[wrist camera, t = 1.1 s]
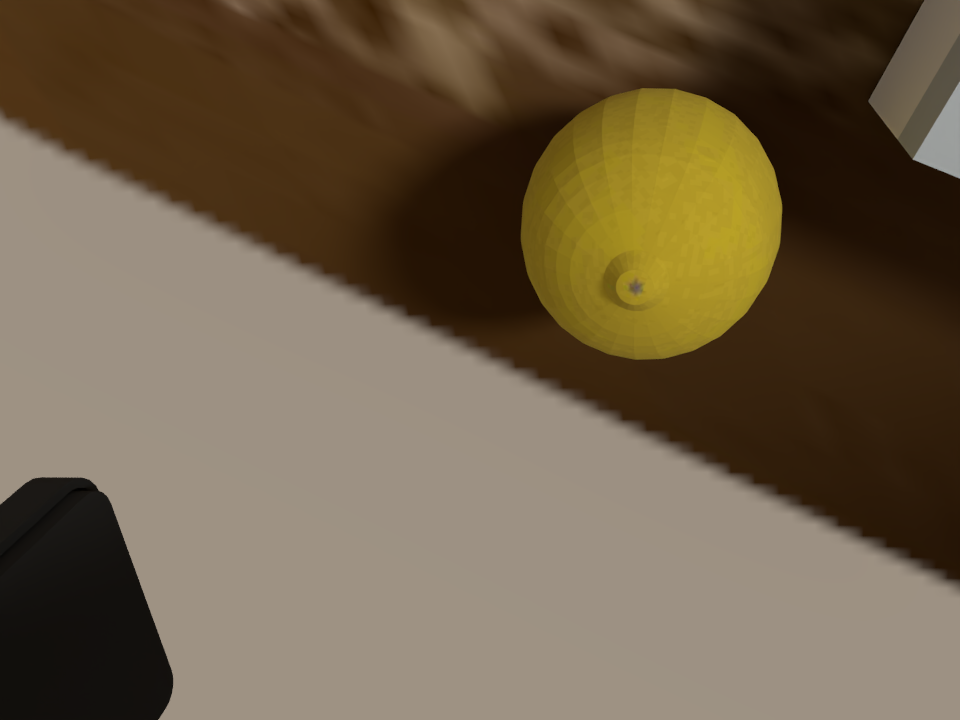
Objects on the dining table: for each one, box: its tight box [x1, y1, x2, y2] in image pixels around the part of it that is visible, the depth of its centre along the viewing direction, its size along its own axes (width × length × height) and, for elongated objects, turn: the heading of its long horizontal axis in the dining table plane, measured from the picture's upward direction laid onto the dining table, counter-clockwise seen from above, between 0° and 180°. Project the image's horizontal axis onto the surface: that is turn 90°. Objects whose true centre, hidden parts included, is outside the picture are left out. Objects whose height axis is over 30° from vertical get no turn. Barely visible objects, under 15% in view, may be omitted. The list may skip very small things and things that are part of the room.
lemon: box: [521, 88, 782, 360], centre depth 20 cm, size 6×6×8 cm
